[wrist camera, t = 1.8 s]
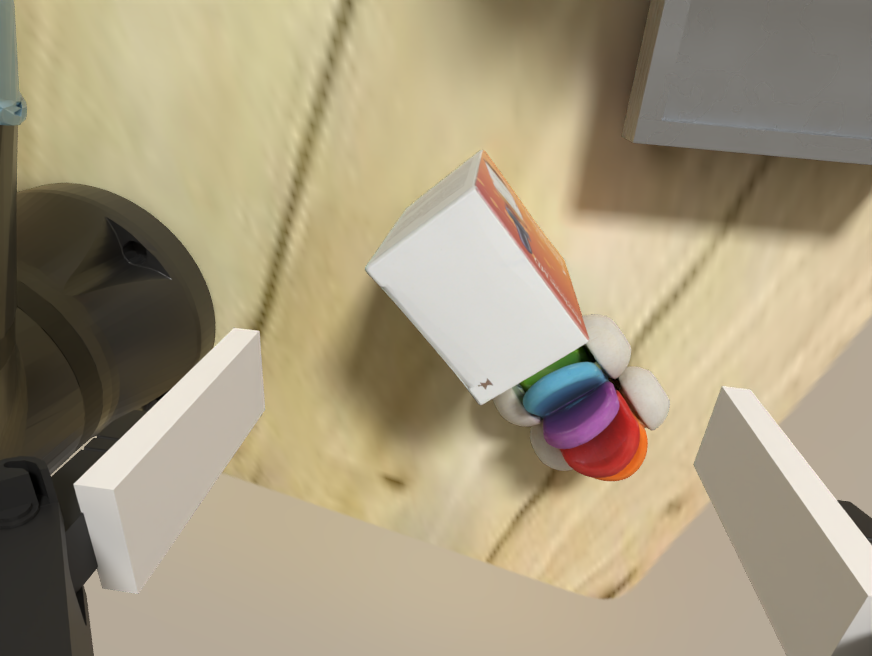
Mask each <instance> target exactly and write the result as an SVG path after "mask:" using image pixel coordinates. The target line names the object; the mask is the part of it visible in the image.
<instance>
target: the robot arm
mask: <svg viewBox="0 0 872 656" xmlns="http://www.w3.org/2000/svg"><path fill="white" fill-rule="evenodd" d="M26 116H27V104H26V101H25V100H24V98H23V96H22V95H21V93H20V91H19V79H18V60H17V42H16V23H15V6H14V0H0V656H94V653H93V645H92V638H91V629H90V621H89V613H88V604H87V596H86V592H85V589H84V586H83V585H84V584H85V582H86V581H87V580H88V579H89V577H90V576H91V575H92V574H93V572H94V571H95V570H96V569H97V571H98V574H99V578H100V582H101V585H102V588H104V589H110V590H117V591H123V592H130V593H136V594H138V593H139V592H140V590H141V589H142V588H143V586H144V585H145V583H146V582H147V580H148V579H149V577H150V576H151V575H152V573H153V572H154V570H155V569H156V567H157V566H158V564H159V563H160V562H161V560H162V559H163V557H164V556H165V554H166V553H167V551H168V550H169V549H170V547H171V546H172V544H173V543H174V541H175V540H176V538H177V537H178V535H179V534H180V532H181V531H182V530H183V528H184V527H185V525H186V524H187V522H188V521H189V519H190V518H191V517H192V515H193V514H194V512H195V511H196V509H197V508H198V506H199V505H200V503H201V502H202V501H203V499H204V497H205V496H206V495H207V493H208V492H209V490H210V489H211V487H212V486H213V485H214V483H215V482H216V480H217V479H218V477H219V476H220V474H221V473H222V472H223V470H224V469H225V467H226V466H227V464H228V463H229V461H230V460H231V458H232V457H233V456H234V454H235V453H236V451H237V450H238V448H239V447H240V445H241V444H242V443H243V441H244V440H245V438H246V437H247V435H248V434H249V432H250V431H251V429H252V428H253V427H254V425H255V424H256V422H257V421H258V419H259V418H260V416H261V415H262V413H263V412H264V411H265V401H264V387H263V373H262V359H261V346H260V332H259V331H256V330H248V329H240V328H233V329H232V330H231V331H230V332H229V333H228V334H227V335H226V336H225V337H224V338H223V339H222V340H221V341H220V342H219V343H218V344H217V345H216V346H215V347H214V348H213V349H212V347H213V342H214V336H215V316H214V309H213V304H212V300H211V296H210V293H209V290H208V287H207V285H206V282H205V280H204V278H203V276H202V274H201V272H200V270H199V268H198V266H197V264H196V263H195V261H194V260H193V258H192V257H191V255H190V254H189V252H188V251H187V250H186V248H185V247H184V246H183V245H182V243H181V242H180V241H179V240H178V239H177V238H176V236H175V235H174V234H173V233H172V232H171V231H170V230H169V229H168V228H167V227H166V226H164V225H163V224H162V223H161V222H160V221H159V220H158V219H156V218H155V217H154V216H152V215H151V214H150V213H148V212H147V211H145V210H144V209H142V208H141V207H139V206H138V205H136V204H134V203H133V202H131V201H129V200H127V199H125V198H123V197H121V196H119V195H116V194H114V193H111V192H109V191H106V190H103V189H100V188H96V187H92V186H87V185H81V184H72V183H56V184H48V185H43V186H38V187H35V188H31V189H27V190H23V191H19V192H17V143H18V125H20V124H21V123H22V122H23V121H24V120H25V119H26ZM94 436H97V438H93V439H92V440H91V441H90V442H89V443H88V444H87V445H86V446H85V447H84V450H81V451H79V452H78V453H77V454H76V455H75V456H74V457H73V458H71V460H69V461H68V462H67V463H66V464H65V465H64V466H63V467H62V468H60V469H59V470H58V471H57V472H56V473H55V474H54V475H53V476H52V477H51V476H50V475H51V474H52V473H53V472H54V471H55V470H56V469H57V468H58V467H60V465H62V464H63V463H64V462H65V461H66V460H67V459H68V458H69V457H70V456H71V455H72V454H73V453H74V452H75V451H77V450H78V449H79V448H80V447H81V446H82V445H83V444H85V443H86V442H87V441H88V440H89V439H90V438H92V437H94ZM693 465H694V467H695V469H696V471H697V473H698V475H699V477H700V479H701V481H702V483H703V485H704V487H705V490H706V492H707V494H708V496H709V498H710V500H711V502H712V504H713V506H714V508H715V510H716V512H717V514H718V516H719V518H720V520H721V522H722V524H723V526H724V528H725V530H726V532H727V535H728V537H729V538H730V541H731V543H732V545H733V547H734V548H735V551H736V553H737V555H738V557H739V559H740V561H741V563H742V565H743V567H744V569H745V572H746V574H747V575H748V578H749V580H750V582H751V584H752V586H753V588H754V590H755V592H756V594H757V596H758V598H759V600H760V602H761V604H762V606H763V608H764V610H765V613H766V615H767V617H768V618H769V621H770V622H771V625H772V627H773V629H774V631H775V633H776V635H777V637H778V639H779V641H780V643H781V645H782V647H783V649H784V651H785V654H786V655H787V656H872V518H871V517H869V516H868V515H867V514H865V513H864V512H863V511H861V510H860V509H859V508H857V507H856V506H855V505H853V504H852V503H851V502H848V501H840V500H836V499H835V497H834V496H833V495H832V494H831V492H830V491H829V490H828V489H827V487H826V486H825V485H824V483H823V482H822V481H821V480H820V478H819V477H818V476H817V475H816V473H815V472H814V471H813V470H812V468H811V467H810V465H809V464H808V463H807V462H806V460H805V459H804V458H803V456H802V455H801V454H800V453H799V451H798V450H797V449H796V448H795V446H794V445H793V444H792V442H791V441H790V440H789V438H788V437H787V436H786V435H785V433H784V432H783V431H782V429H781V428H780V427H779V426H778V424H777V423H776V422H775V420H774V419H773V418H772V417H771V415H770V414H769V413H768V411H767V410H766V409H765V408H764V406H763V405H762V404H761V402H760V401H759V400H758V399H757V397H756V396H755V395H754V394H753V392H752V391H751V390H750V389H742V388H734V387H725V386H722V387H721V390H720V393H719V395H718V398H717V401H716V404H715V406H714V409H713V412H712V415H711V417H710V420H709V423H708V426H707V428H706V431H705V434H704V437H703V439H702V442H701V445H700V448H699V451H698V453H697V456H696V459H695V462H694V464H693Z"/></svg>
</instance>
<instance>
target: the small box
mask: <svg viewBox="0 0 872 656" xmlns="http://www.w3.org/2000/svg"><path fill="white" fill-rule="evenodd" d="M365 271H366V272H367V273H368V275H369V276H370V277H371V278H372V279H373V280H374V281H375V282H376V283H377V284H378V285H379V286H380V287H381V288H382V289H383V290H384V291H385V292H386V294H387V295H388V296H389V297H390V298H391V299H392V300H393V301H394V303H395V304H396V305H397V306H398V307H399V308H400V309H401V311H402V312H403V313H404V314H405V315H406V316H407V318H408V319H409V320H410V321H411V322H412V323H413V324H414V326H415V327H416V328H417V329H418V330H419V332H420V333H421V334H422V335H423V336H424V337H425V339H426V340H427V341H428V342H429V343H430V344H431V346H432V347H433V348H434V349H435V350H436V351H437V353H438V354H439V355H440V356H441V357H442V359H443V360H444V361H445V362H446V363H447V365H448V366H449V367H450V368H451V369H452V370H453V372H454V373H455V374H456V375H457V377H458V378H459V379H460V380H461V381H462V383H463V384H464V385H465V387H466V388H467V390H468V391H469V392H470V394H471V395H472V396H473V397H474V399H475V400H476V401H477V403H478V404H479V405H483V404H484V403H486V402H488V401H489V400H491V399H493V398H495V397H496V396H498V395H500V394H502V393H503V392H505V391H507V390H508V389H510V388H512V387H514V386H515V385H517V384H519V383H520V382H522V381H524V380H525V379H527V378H529V377H531V376H532V375H534V374H536V373H537V372H539V371H541V370H542V369H544V368H546V367H547V366H549V365H551V364H553V363H554V362H556V361H558V360H559V359H561V358H563V357H565V356H566V355H568V354H569V353H571V352H573V351H574V350H576V349H578V348H579V347H581V346H582V345H584V344H586V343H588V342H589V340H590V339H589V336H588V333H587V330H586V327H585V324H584V321H583V317H582V314H581V311H580V308H579V304H578V302H577V298H576V295H575V292H574V289H573V286H572V282H571V279H570V276H569V273H568V270H567V267H566V264H565V261H564V259H563V258H562V256H561V255H560V254H559V253H558V251H557V250H556V249H555V247H554V246H553V245H552V244H551V242H550V241H549V240H548V238H547V237H546V236H545V234H544V233H543V232H542V230H541V229H540V227H539V226H538V225H537V223H536V222H535V221H534V219H533V218H532V216H531V215H530V213H529V212H528V211H527V209H526V208H525V206H524V205H523V204H522V202H521V201H520V199H519V198H518V196H517V195H516V194H515V192H514V191H513V189H512V188H511V186H510V185H509V184H508V182H507V181H506V179H505V178H504V177H503V175H502V174H501V173H500V171H499V170H498V168H497V167H496V165H495V164H494V163H493V161H492V160H491V158H490V157H489V156H488V154H487V153H486V152H485V151H484V150H480V151H479V152H477V153H476V154H475V155H473V156H472V157H471V158H469V159H468V160H467V161H466V162H464V163H463V164H462V165H460V166H459V167H458V168H457V169H455V170H454V171H453V172H451V173H450V174H449V175H448V176H446V177H445V178H444V179H442V180H441V181H440V182H439V183H437V184H436V185H435V186H434V187H432V188H431V189H430V190H429V191H427V192H426V193H425V194H423V195H422V196H421V197H420V198H418V199H417V200H416V201H415V202H414V203H412V204H411V205H410V206H409V207H407V208H406V209H405V211H404V213H403V214H402V215H401V217H400V218H399V219H398V221H397V222H396V224H395V225H394V226H393V228H392V229H391V230H390V232H389V233H388V235H387V236H386V238H385V239H384V241H383V242H382V244H381V245H380V247H379V248H378V249H377V251H376V252H375V254H374V255H373V257H372V258H371V259H370V261H369V262H368V263H367V265H366V267H365Z"/></svg>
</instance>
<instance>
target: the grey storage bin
mask: <svg viewBox="0 0 872 656" xmlns="http://www.w3.org/2000/svg"><path fill="white" fill-rule="evenodd" d="M622 137H624V138H625V139H627V140H629V141H631V142H633V143H641V144H652V145H663V146H673V147H684V148H695V149H705V150H716V151H727V152H738V153H748V154H759V155H770V156H781V157H791V158H802V159H813V160H824V161H834V162H845V163H856V164H867V165H872V0H651V2H650V7H649V11H648V16H647V21H646V25H645V30H644V35H643V39H642V44H641V48H640V53H639V58H638V62H637V67H636V71H635V76H634V81H633V85H632V90H631V95H630V99H629V104H628V108H627V113H626V118H625V122H624V127H623V132H622Z"/></svg>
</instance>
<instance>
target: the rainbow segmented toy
mask: <svg viewBox="0 0 872 656" xmlns="http://www.w3.org/2000/svg"><path fill="white" fill-rule="evenodd" d="M582 317H583V321H584V324H585V327H586V330H587V333H588V336H589V339H590V340H589V342H588V343H586V346H587V348H588V349H587V348H586V347H585V346H584V345H582V346H581V347H579V348H578V349H576V350H574V351H573V352H571V353H569V354H568V355H566V356H565V357H563V358H561V359H559V360H558V361H556V362H554V363H553V364H551V365H549V366H547V367H546V368H544V369H542V370H541V371H539V372H537V373H536V374H534V375H532V376H531V377H529V378H527V379H525V380H524V381H522V382H520V383H519V384H517V385H515V386H514V387H512V388H510V389H508V390H507V391H505V392H503V393H502V394H500V395H498V396H496V397H495V398H493V402H494V404H495V406H496V408H497V410H498V412H499V413H500V414H501V416H502V417H503V418H504V419H506V420H507V421H508V422H510V423H512V424H515V425H518V426H526V427H528V426H531V430H530V441H531V444H532V447H533V449H534V451H535V453H536V455H537V456H538V458H539V459H540V460H541V461H542V462H543V463H544V464H545V465H547V466H549V467H551V468H553V469H556V470H561V471H568V470H573V469H574V470H575V471H577V472H578V473H581V474H583V475H585V476H588V477H593V478H596V479H599V480H603V481H619V480H623V479H626V478H628V477H630V476H631V475H632V474H634V473H635V472H636V471H637V470H638V469H639V468H640V466H641V464H642V463H643V461H644V459H645V456H646V452H647V445H648V442H647V435H646V431H645V429H644V428H648V429H650V430H655V429H656V428H658V427H659V426H660V425H661V424H662V423H663V421H664V420H665V419H666V417H667V414H668V412H669V407H670V400H669V398H668V396H667V394H666V393H665V391H664V390H663V388H662V386H661V385H660V383H659V382H658V380H657V379H656V377H655V376H654V375H653V373H652V372H651V371H649V370H647V369H644V368H641V367H634V366H631V367H627V365H628V363H629V360H630V356H631V346H630V344H629V342H628V341H627V339H626V337H625V336H624V334H623V333H622V332H621V330H620V329H619V327H618V326H617V324H616V323H615V322H614V321H613V320H612V319H611V318H609V317H606V316H603V315H595V314H591V315H585V316H582ZM608 378H613V379H616V378H617V379H618V381H619V383H620V388H619V389H617V388H616V386H615V385H614V384H613V383H611V382H610V381H609V380H608Z"/></svg>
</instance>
